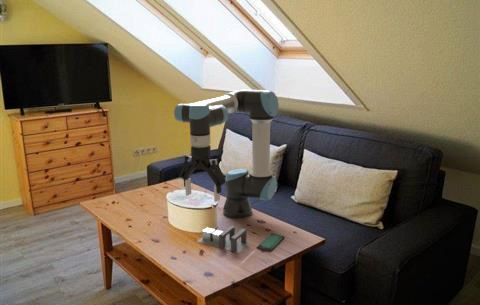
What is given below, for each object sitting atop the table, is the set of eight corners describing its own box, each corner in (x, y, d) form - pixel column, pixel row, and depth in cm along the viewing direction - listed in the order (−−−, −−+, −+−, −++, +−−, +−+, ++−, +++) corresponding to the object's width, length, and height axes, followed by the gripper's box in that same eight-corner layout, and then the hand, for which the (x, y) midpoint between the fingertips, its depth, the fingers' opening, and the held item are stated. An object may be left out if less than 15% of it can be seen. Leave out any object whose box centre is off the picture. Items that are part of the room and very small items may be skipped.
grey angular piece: (209, 233, 185) (208, 220, 183) (250, 244, 174) (250, 230, 172) (196, 242, 176) (196, 228, 175) (239, 254, 166) (239, 239, 164)
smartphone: (255, 246, 171) (270, 232, 184) (255, 249, 172) (270, 234, 184) (270, 250, 168) (285, 236, 180) (270, 253, 168) (285, 238, 180)
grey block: (202, 239, 178) (202, 230, 177) (207, 235, 182) (207, 227, 181) (221, 244, 173) (220, 235, 172) (225, 240, 177) (225, 232, 176)
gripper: (168, 143, 152) (171, 195, 158) (223, 151, 140) (224, 206, 146) (180, 139, 158) (183, 189, 164) (234, 146, 146) (234, 200, 152)
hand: (202, 197), depth 155 cm, fingers open, 13 cm apart
